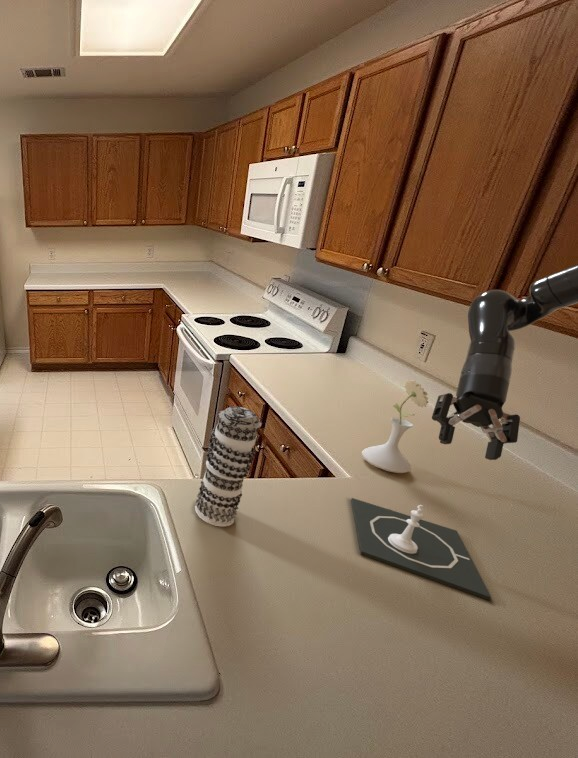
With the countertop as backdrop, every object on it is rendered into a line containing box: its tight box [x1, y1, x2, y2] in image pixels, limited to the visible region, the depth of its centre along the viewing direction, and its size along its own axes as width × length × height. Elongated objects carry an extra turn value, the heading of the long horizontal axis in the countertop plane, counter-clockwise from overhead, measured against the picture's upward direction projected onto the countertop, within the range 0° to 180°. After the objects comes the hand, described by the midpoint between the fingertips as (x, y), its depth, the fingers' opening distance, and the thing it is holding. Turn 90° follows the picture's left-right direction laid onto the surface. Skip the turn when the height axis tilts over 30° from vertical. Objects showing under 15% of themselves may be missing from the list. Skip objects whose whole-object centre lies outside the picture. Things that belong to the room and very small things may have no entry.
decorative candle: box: [194, 406, 263, 528], centre depth 86 cm, size 9×9×25 cm
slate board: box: [350, 497, 492, 601], centre depth 86 cm, size 20×20×1 cm
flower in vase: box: [361, 379, 429, 474], centre depth 112 cm, size 13×11×25 cm
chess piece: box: [388, 504, 425, 554], centre depth 83 cm, size 5×5×10 cm
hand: (468, 451), depth 84 cm, fingers open, 8 cm apart
